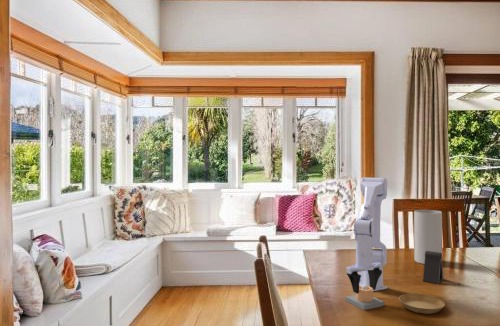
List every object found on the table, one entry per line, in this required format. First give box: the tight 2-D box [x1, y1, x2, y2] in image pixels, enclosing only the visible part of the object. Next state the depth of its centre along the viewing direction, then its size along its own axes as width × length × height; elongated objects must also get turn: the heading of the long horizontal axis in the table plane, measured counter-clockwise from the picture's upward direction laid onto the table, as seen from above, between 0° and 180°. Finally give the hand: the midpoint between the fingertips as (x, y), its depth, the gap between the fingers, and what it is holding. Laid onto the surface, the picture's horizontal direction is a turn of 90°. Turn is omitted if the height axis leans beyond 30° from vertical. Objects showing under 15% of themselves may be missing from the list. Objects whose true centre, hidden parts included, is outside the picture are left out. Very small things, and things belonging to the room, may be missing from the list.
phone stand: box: [422, 251, 445, 285], centre depth 170 cm, size 9×6×12 cm, turn 141°
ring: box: [355, 286, 374, 302], centre depth 145 cm, size 6×6×4 cm
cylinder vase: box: [413, 209, 443, 265], centre depth 200 cm, size 12×12×25 cm
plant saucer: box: [398, 293, 446, 315], centre depth 140 cm, size 15×15×3 cm
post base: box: [345, 285, 385, 311], centre depth 145 cm, size 10×9×6 cm
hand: (364, 290), depth 145 cm, fingers open, 7 cm apart
